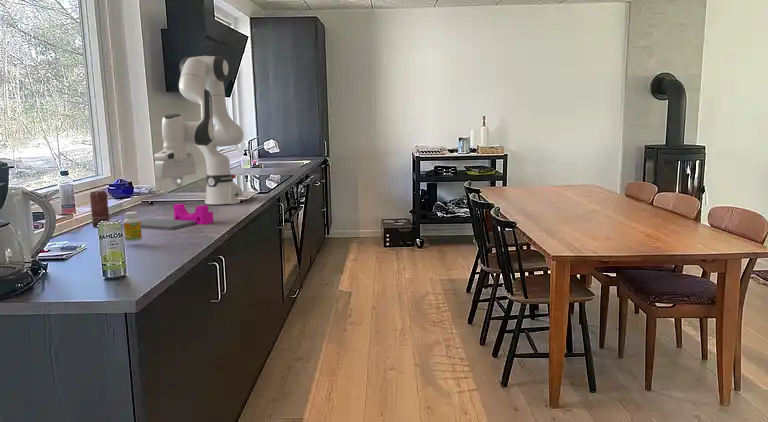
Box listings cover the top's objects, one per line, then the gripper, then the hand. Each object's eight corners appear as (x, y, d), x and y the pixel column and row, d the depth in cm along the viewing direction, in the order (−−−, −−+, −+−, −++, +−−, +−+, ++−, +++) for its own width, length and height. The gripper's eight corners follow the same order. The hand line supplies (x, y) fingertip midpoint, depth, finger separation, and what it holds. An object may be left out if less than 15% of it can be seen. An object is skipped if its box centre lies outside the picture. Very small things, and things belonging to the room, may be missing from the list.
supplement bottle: (131, 242, 197) (129, 214, 196) (121, 240, 200) (119, 213, 198) (145, 239, 201) (143, 212, 200) (135, 238, 204) (133, 211, 203)
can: (92, 228, 227) (89, 192, 225) (92, 225, 232) (89, 191, 230) (109, 226, 229) (106, 191, 227) (109, 224, 235) (106, 190, 233)
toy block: (213, 222, 236) (212, 204, 235) (202, 225, 231) (201, 206, 230) (186, 220, 243) (184, 203, 242) (174, 222, 237) (173, 204, 236)
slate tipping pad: (150, 221, 242) (150, 218, 241) (195, 224, 232) (195, 221, 232) (123, 226, 229) (123, 223, 229) (170, 229, 220) (170, 226, 219)
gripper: (186, 152, 247) (189, 184, 250) (150, 155, 229) (153, 190, 231) (198, 152, 245) (200, 184, 247) (162, 155, 226) (165, 190, 229)
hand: (177, 187), depth 239 cm, fingers closed
